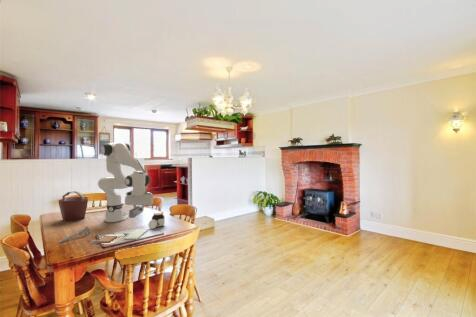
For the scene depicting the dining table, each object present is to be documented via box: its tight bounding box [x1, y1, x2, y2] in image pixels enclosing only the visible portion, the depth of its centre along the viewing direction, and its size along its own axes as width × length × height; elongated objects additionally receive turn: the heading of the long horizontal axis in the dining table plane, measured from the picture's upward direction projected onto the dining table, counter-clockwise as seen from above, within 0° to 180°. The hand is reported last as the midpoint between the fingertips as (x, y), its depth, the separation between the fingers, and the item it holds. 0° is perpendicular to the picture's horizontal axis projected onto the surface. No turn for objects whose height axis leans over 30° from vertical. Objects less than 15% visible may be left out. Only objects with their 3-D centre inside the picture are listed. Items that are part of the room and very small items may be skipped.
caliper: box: [58, 226, 91, 244], centre depth 167 cm, size 20×1×6 cm, turn 153°
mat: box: [89, 232, 129, 246], centre depth 166 cm, size 22×16×1 cm
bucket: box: [58, 191, 89, 222], centre depth 218 cm, size 24×22×25 cm
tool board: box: [123, 228, 149, 241], centre depth 174 cm, size 20×9×1 cm, turn 0°
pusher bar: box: [128, 205, 144, 219], centre depth 173 cm, size 16×3×5 cm, turn 0°
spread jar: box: [148, 211, 166, 230], centre depth 194 cm, size 12×11×12 cm
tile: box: [97, 235, 117, 243], centre depth 162 cm, size 2×8×10 cm
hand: (139, 210), depth 178 cm, fingers closed on pusher bar, 3 cm apart
